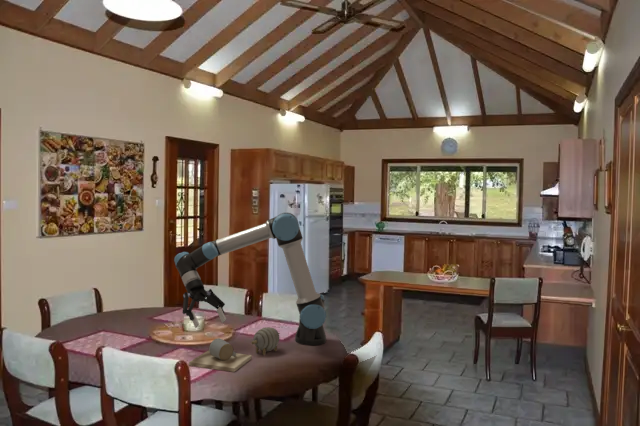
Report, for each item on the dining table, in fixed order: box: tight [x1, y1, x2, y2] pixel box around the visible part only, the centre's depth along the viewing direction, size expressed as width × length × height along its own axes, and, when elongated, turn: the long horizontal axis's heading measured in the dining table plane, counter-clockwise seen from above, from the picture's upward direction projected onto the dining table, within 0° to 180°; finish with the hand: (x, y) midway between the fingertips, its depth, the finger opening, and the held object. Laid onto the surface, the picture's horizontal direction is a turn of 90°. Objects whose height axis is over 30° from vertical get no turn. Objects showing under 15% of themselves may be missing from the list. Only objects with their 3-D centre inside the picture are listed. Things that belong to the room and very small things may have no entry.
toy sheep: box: [250, 326, 281, 356], centre depth 242 cm, size 11×17×11 cm, turn 147°
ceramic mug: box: [208, 337, 237, 360], centre depth 227 cm, size 11×8×8 cm
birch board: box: [188, 349, 253, 373], centre depth 226 cm, size 20×18×2 cm
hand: (211, 323), depth 230 cm, fingers open, 13 cm apart
